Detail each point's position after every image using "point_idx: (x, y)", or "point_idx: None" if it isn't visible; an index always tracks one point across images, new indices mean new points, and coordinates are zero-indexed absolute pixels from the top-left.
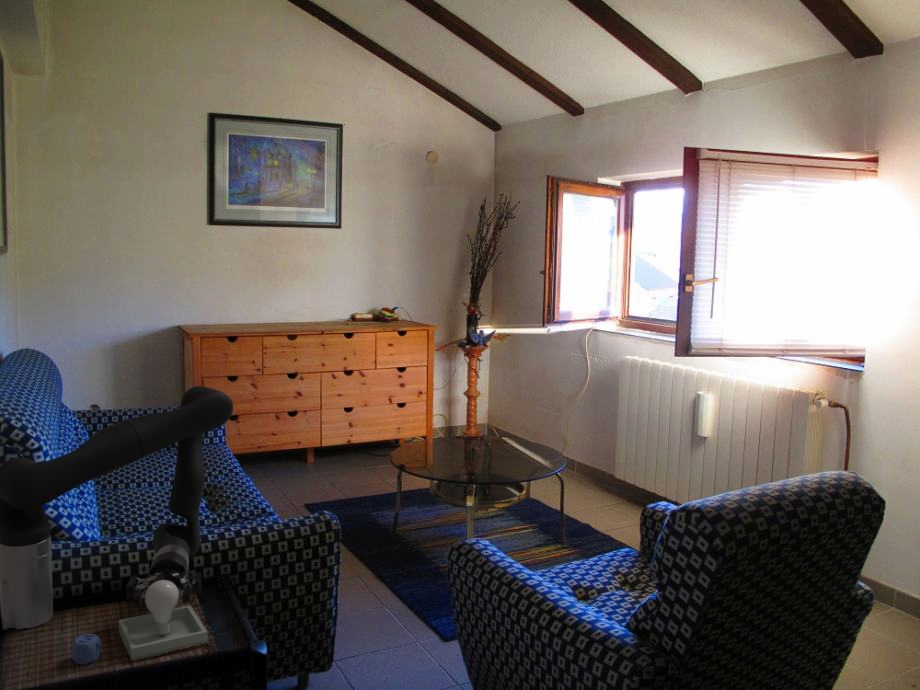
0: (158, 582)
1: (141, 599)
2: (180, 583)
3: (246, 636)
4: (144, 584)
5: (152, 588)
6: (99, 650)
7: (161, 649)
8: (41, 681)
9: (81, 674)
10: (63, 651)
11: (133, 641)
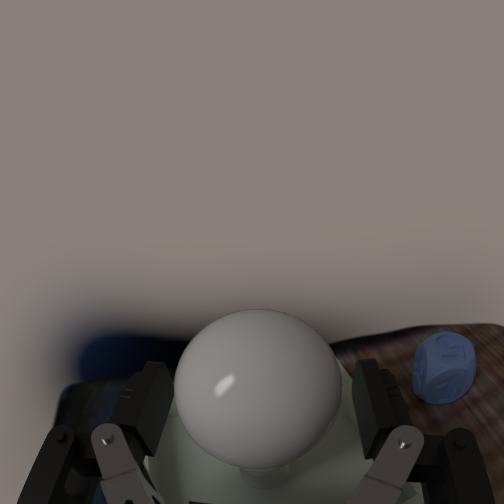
0: (270, 322)
1: (361, 417)
2: (144, 479)
3: (60, 416)
4: (384, 474)
5: (298, 319)
6: (418, 386)
7: None
8: (461, 325)
9: (412, 342)
10: (498, 404)
11: (351, 441)
